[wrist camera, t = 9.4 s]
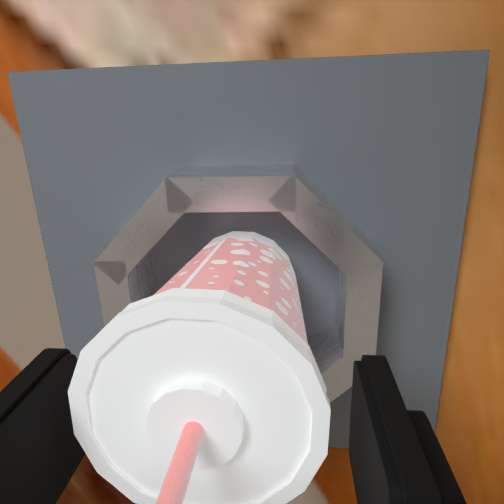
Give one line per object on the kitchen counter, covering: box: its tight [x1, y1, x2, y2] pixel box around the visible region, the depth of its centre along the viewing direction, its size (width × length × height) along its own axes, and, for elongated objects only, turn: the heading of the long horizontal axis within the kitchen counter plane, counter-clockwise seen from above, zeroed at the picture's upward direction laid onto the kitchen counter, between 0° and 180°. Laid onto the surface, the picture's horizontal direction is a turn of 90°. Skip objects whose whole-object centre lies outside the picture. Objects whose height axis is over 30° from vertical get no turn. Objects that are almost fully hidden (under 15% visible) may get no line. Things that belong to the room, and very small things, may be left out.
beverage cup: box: [68, 231, 331, 504], centre depth 11 cm, size 6×6×14 cm
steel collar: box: [93, 164, 384, 402], centre depth 16 cm, size 10×10×3 cm
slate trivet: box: [7, 50, 490, 448], centre depth 18 cm, size 18×18×1 cm
